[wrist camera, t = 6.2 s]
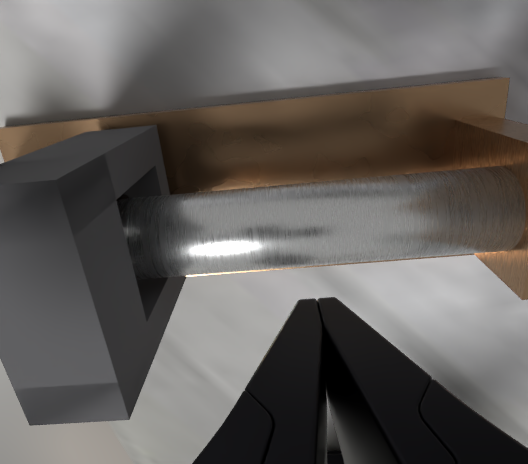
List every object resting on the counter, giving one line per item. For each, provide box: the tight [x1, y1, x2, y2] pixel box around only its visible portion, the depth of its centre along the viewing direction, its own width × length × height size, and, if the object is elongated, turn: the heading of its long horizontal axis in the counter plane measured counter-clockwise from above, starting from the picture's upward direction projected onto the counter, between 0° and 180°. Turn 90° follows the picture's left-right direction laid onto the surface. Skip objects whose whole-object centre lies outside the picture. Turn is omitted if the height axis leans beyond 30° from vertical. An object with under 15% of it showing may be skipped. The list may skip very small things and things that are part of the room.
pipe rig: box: [0, 77, 528, 300], centre depth 16 cm, size 22×8×7 cm, turn 96°
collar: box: [0, 125, 186, 425], centre depth 14 cm, size 3×7×8 cm, turn 5°
